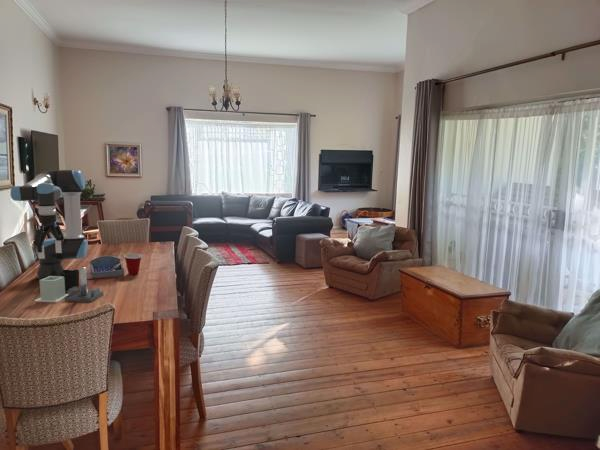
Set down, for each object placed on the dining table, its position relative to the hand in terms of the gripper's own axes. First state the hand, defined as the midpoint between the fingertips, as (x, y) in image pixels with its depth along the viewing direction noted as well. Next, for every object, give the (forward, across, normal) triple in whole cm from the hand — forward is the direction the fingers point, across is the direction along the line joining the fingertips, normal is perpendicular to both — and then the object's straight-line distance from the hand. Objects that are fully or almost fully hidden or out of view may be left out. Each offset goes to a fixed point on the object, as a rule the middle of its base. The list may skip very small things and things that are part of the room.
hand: (50, 255), depth 223 cm
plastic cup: (+23, +53, -18) cm, 60 cm away
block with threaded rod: (+22, +3, -15) cm, 27 cm away
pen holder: (+23, +18, +2) cm, 29 cm away
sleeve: (+22, 0, 0) cm, 22 cm away
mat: (+22, 0, 0) cm, 23 cm away
